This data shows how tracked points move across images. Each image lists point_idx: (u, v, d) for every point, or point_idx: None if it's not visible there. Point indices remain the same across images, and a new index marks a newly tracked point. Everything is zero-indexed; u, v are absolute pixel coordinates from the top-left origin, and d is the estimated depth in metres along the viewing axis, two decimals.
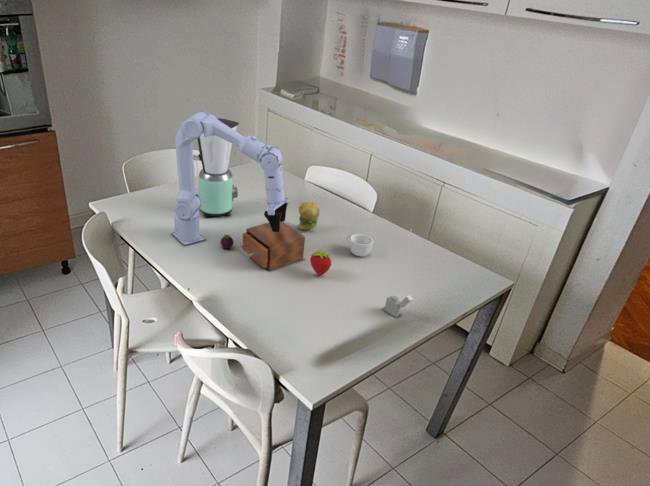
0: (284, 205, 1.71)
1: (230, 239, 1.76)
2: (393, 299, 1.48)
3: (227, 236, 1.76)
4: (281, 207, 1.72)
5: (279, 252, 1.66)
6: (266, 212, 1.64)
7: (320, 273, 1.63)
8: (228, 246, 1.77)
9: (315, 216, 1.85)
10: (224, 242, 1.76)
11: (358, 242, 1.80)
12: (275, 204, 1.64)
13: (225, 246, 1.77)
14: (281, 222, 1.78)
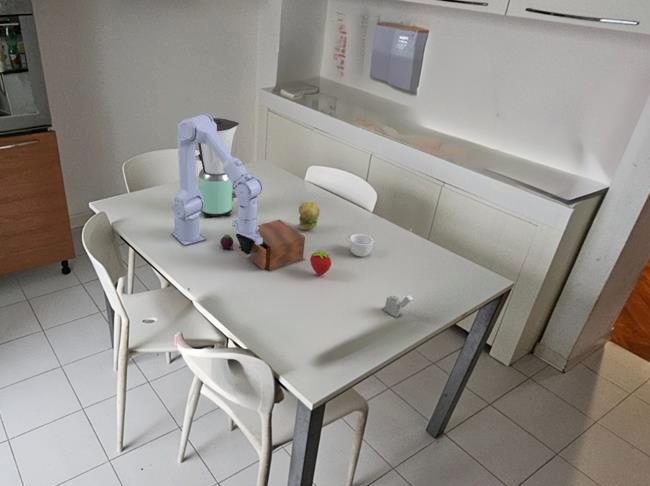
0: None
1: (230, 239, 1.76)
2: (393, 299, 1.48)
3: (227, 236, 1.76)
4: None
5: (279, 252, 1.66)
6: (244, 238, 1.63)
7: (320, 273, 1.63)
8: (228, 246, 1.77)
9: (315, 216, 1.85)
10: (224, 242, 1.76)
11: (358, 242, 1.80)
12: (253, 233, 1.62)
13: (225, 246, 1.77)
14: (281, 222, 1.78)
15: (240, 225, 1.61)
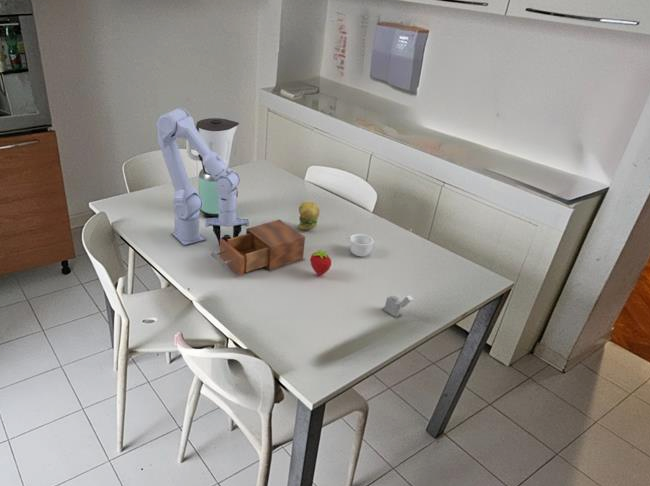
0: None
1: None
2: (393, 299, 1.48)
3: (227, 236, 1.76)
4: None
5: (279, 252, 1.66)
6: (238, 228, 1.73)
7: (320, 273, 1.63)
8: None
9: (315, 216, 1.85)
10: None
11: (358, 242, 1.80)
12: (236, 220, 1.74)
13: None
14: (281, 222, 1.78)
15: (229, 218, 1.70)
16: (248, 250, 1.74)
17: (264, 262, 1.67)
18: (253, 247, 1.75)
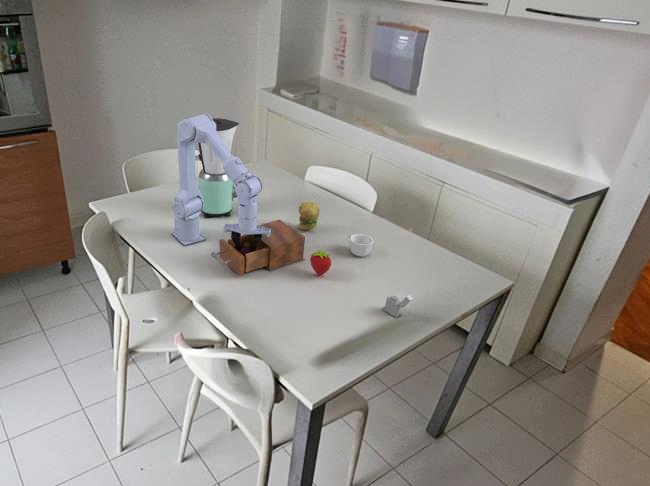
0: (240, 234, 1.67)
1: (249, 248, 1.66)
2: (393, 299, 1.48)
3: (246, 244, 1.66)
4: (239, 238, 1.67)
5: (279, 252, 1.66)
6: (257, 237, 1.63)
7: (320, 273, 1.63)
8: None
9: (315, 216, 1.85)
10: (242, 251, 1.66)
11: (358, 242, 1.80)
12: (257, 228, 1.64)
13: (243, 255, 1.67)
14: (281, 222, 1.78)
15: (247, 225, 1.60)
16: None
17: (264, 262, 1.67)
18: None
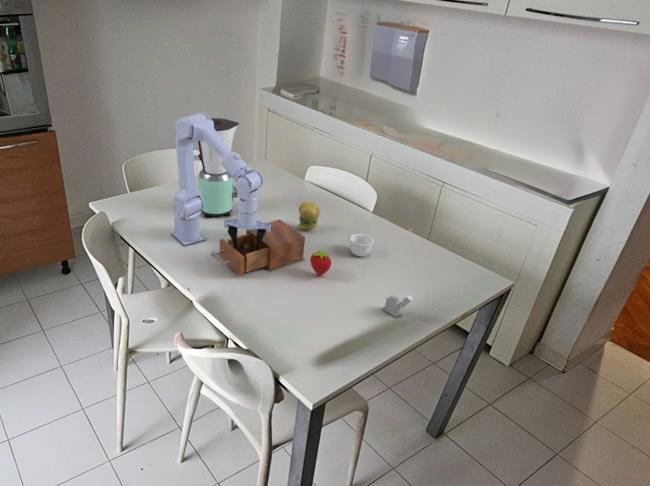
0: (237, 229, 1.66)
1: (249, 250, 1.67)
2: (393, 299, 1.48)
3: (246, 246, 1.67)
4: (236, 233, 1.66)
5: (279, 252, 1.66)
6: (261, 233, 1.61)
7: (320, 273, 1.63)
8: None
9: (315, 216, 1.85)
10: (243, 252, 1.67)
11: (358, 242, 1.80)
12: (257, 223, 1.63)
13: None
14: (281, 222, 1.78)
15: (247, 220, 1.59)
16: None
17: (264, 262, 1.67)
18: (253, 247, 1.75)
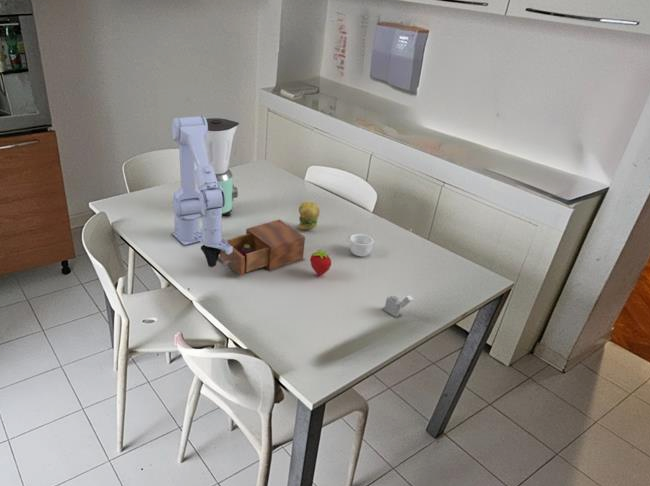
0: None
1: (249, 250, 1.67)
2: (393, 299, 1.48)
3: (247, 246, 1.67)
4: None
5: (279, 252, 1.66)
6: (211, 249, 1.57)
7: (320, 273, 1.63)
8: None
9: (315, 216, 1.85)
10: (243, 253, 1.67)
11: (358, 242, 1.80)
12: (220, 242, 1.57)
13: None
14: (281, 222, 1.78)
15: (206, 237, 1.55)
16: None
17: (265, 262, 1.67)
18: (253, 247, 1.75)
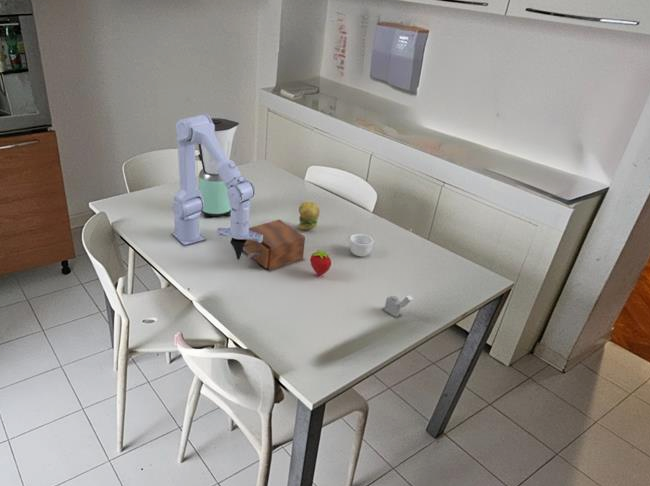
0: None
1: None
2: (393, 299, 1.48)
3: None
4: None
5: (279, 252, 1.66)
6: (241, 241, 1.62)
7: (320, 273, 1.63)
8: None
9: (315, 216, 1.85)
10: None
11: (358, 242, 1.80)
12: (249, 233, 1.62)
13: None
14: (281, 222, 1.78)
15: (238, 230, 1.59)
16: None
17: None
18: None
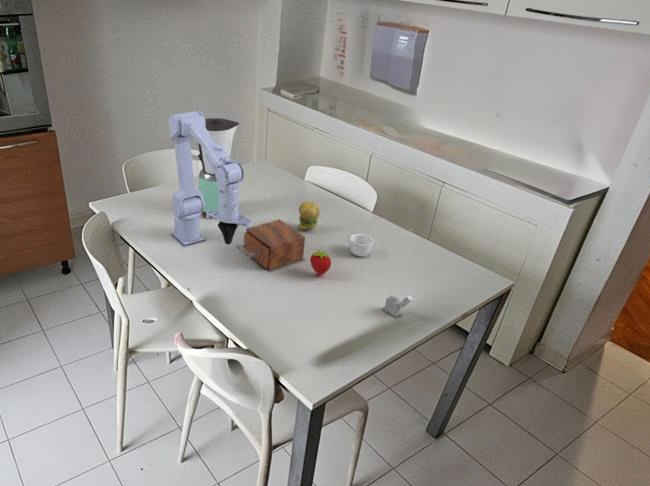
0: None
1: None
2: (393, 299, 1.48)
3: None
4: None
5: (279, 252, 1.66)
6: (230, 226, 1.56)
7: (320, 273, 1.63)
8: None
9: (315, 216, 1.85)
10: None
11: (358, 242, 1.80)
12: (238, 218, 1.57)
13: None
14: (281, 222, 1.78)
15: (226, 213, 1.54)
16: None
17: None
18: None
